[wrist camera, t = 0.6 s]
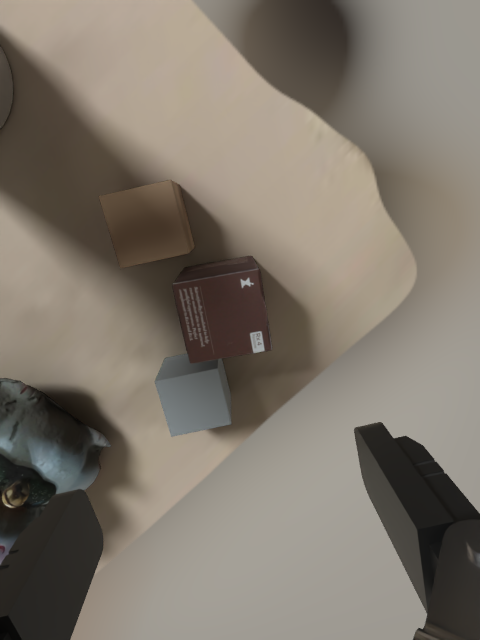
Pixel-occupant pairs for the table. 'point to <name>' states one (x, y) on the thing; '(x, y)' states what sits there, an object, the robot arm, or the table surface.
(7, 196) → the table surface
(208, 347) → the box
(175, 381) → the grey block
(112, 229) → the walnut block
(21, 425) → the grey-blue rounded figure
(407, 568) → the robot arm
